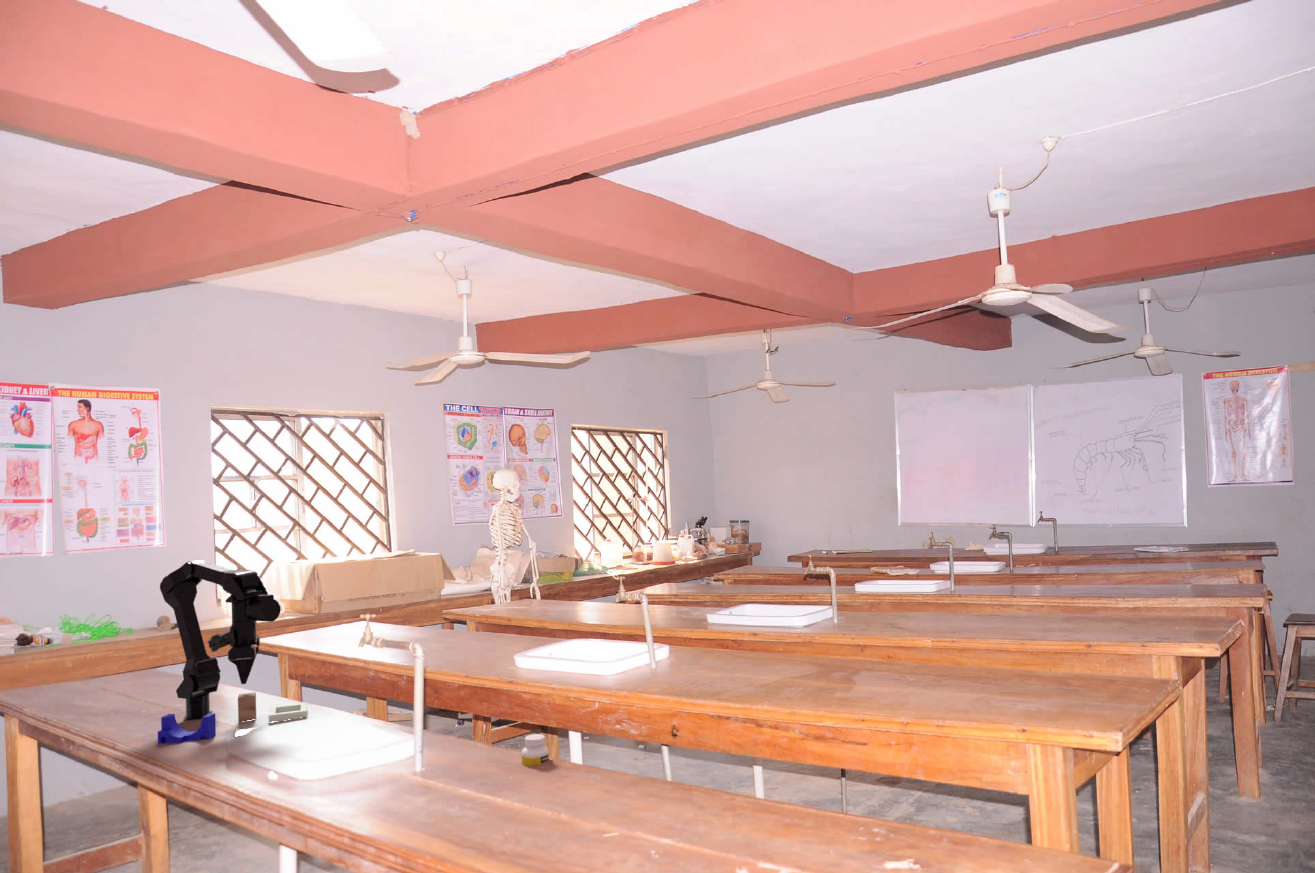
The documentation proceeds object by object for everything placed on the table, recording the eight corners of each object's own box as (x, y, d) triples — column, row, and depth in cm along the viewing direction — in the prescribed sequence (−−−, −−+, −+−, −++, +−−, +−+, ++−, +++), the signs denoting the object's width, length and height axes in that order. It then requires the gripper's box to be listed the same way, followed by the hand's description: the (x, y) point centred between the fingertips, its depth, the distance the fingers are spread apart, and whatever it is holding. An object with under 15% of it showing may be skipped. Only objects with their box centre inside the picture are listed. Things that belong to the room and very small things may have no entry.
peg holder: (270, 718, 238) (270, 706, 238) (307, 713, 241) (306, 702, 241) (268, 727, 230) (268, 715, 230) (306, 722, 233) (306, 710, 233)
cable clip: (157, 743, 219) (157, 719, 220) (169, 738, 224) (168, 713, 224) (205, 743, 218) (204, 718, 219) (215, 737, 223) (215, 713, 223)
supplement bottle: (544, 791, 178) (542, 741, 178) (518, 790, 179) (516, 740, 179) (553, 781, 183) (551, 733, 184) (527, 780, 185) (526, 732, 185)
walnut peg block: (239, 720, 237) (239, 693, 237) (256, 718, 238) (255, 692, 238) (238, 724, 233) (237, 697, 233) (255, 722, 234) (254, 695, 235)
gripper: (214, 616, 242) (215, 675, 242) (205, 628, 224) (206, 691, 224) (259, 613, 246) (260, 670, 245) (254, 624, 228) (255, 686, 228)
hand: (245, 679), depth 236 cm, fingers open, 9 cm apart
